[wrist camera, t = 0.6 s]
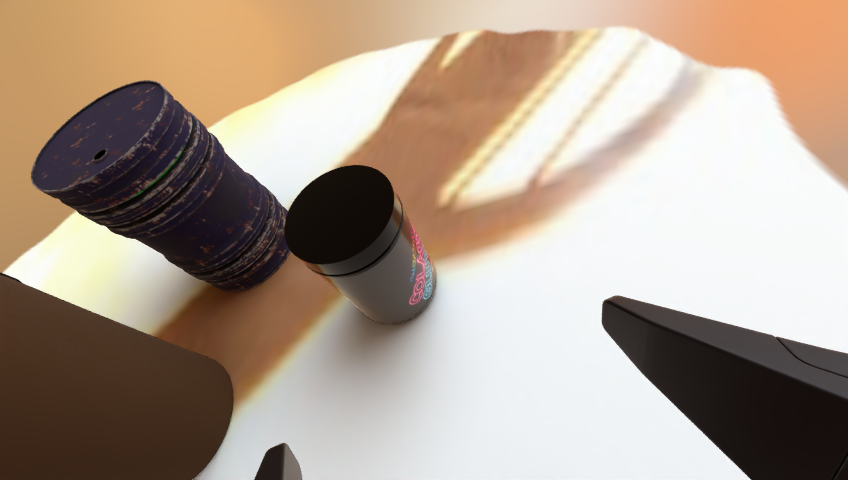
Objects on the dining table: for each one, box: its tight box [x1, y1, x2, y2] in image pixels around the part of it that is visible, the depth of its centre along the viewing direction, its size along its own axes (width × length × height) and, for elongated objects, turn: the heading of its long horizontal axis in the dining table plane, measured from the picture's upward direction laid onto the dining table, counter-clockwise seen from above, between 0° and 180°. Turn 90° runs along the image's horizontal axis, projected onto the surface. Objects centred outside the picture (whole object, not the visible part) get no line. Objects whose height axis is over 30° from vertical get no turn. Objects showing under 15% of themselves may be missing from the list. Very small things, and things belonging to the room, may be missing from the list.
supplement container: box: [284, 165, 437, 324], centre depth 25 cm, size 7×7×10 cm
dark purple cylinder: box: [31, 80, 291, 292], centre depth 30 cm, size 10×10×15 cm
